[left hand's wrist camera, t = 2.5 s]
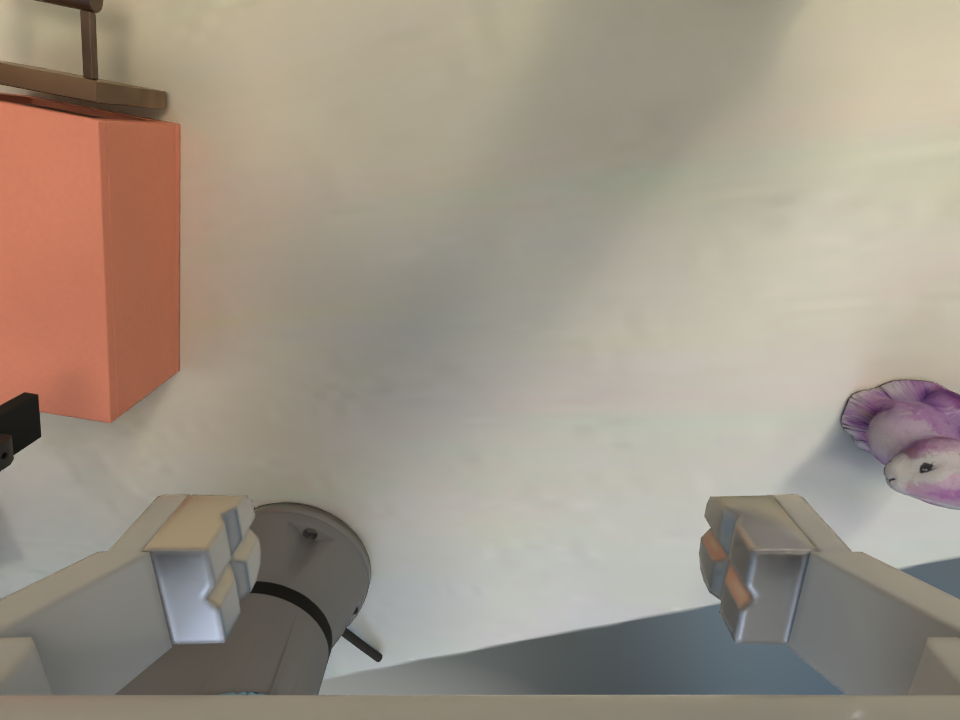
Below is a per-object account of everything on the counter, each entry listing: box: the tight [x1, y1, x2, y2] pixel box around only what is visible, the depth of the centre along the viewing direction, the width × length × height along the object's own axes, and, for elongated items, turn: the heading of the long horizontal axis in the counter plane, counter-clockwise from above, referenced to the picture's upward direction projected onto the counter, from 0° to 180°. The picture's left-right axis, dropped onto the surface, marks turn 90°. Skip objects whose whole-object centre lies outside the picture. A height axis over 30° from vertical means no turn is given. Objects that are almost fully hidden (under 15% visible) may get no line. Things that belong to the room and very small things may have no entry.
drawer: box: [0, 0, 166, 119], centre depth 41 cm, size 24×10×8 cm, turn 170°
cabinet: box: [0, 93, 180, 423], centre depth 43 cm, size 20×11×10 cm, turn 170°
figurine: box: [841, 380, 960, 510], centre depth 46 cm, size 9×10×15 cm
